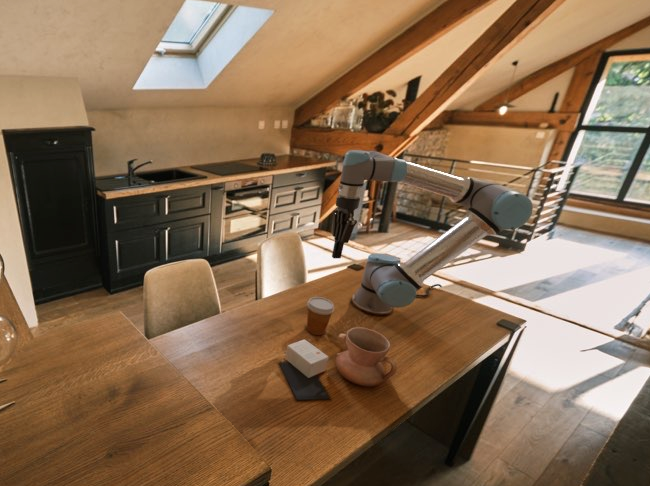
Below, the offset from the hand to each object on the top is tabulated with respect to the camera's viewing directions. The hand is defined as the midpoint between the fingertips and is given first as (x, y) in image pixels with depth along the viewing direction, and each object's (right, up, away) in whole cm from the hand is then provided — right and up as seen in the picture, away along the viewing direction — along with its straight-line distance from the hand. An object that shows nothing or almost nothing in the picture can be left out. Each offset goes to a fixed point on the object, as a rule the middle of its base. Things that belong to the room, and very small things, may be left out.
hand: (336, 257), depth 142 cm
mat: (-20, -38, -23) cm, 48 cm away
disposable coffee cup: (-7, -28, +2) cm, 29 cm away
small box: (-20, -30, -13) cm, 39 cm away
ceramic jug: (-1, -37, -20) cm, 43 cm away
